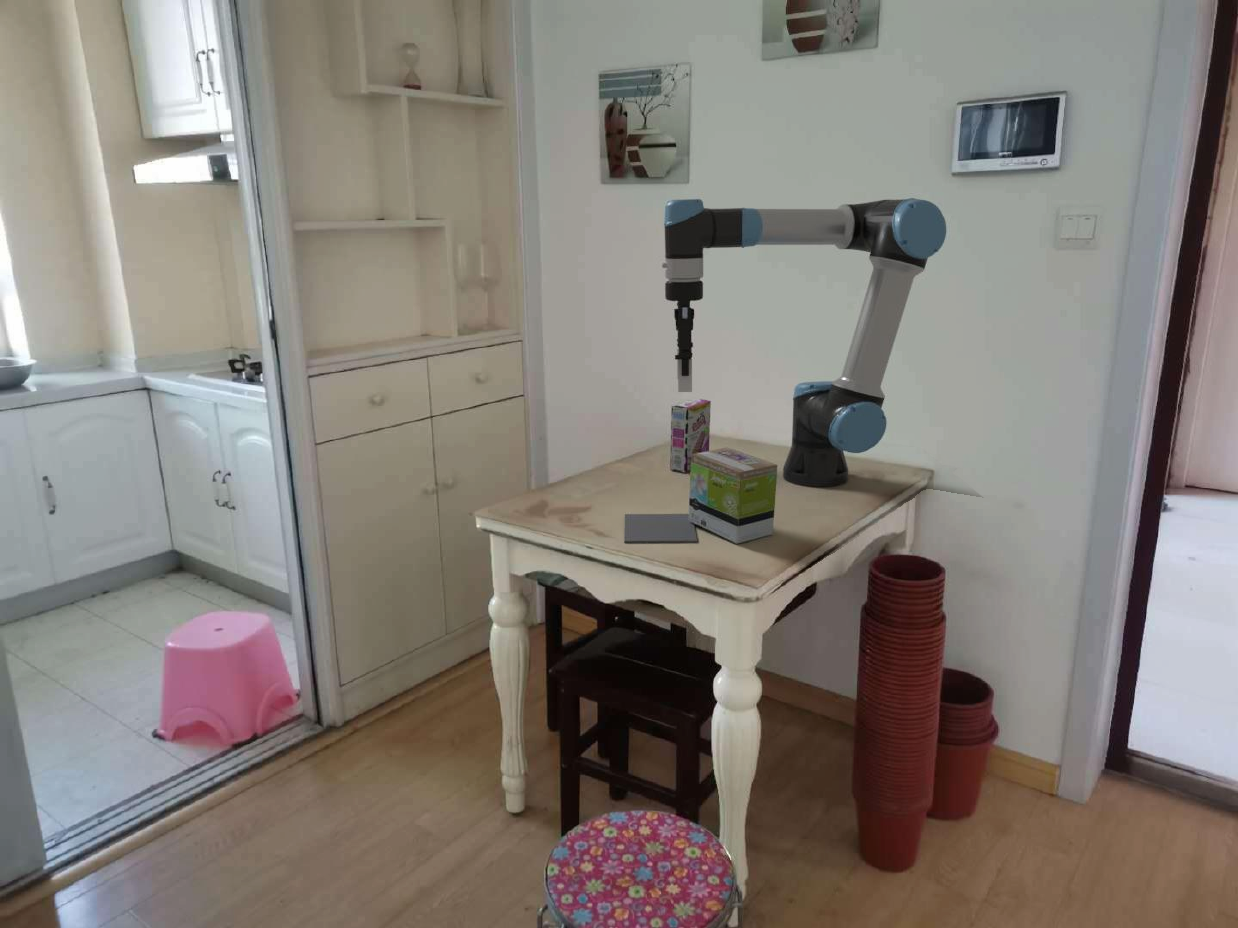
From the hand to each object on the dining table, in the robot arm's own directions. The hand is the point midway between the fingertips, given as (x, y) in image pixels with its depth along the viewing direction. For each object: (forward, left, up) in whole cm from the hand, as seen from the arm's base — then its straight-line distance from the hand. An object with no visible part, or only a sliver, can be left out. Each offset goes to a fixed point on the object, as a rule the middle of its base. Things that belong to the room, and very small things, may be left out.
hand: (684, 385), depth 187 cm
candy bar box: (-4, -33, -27) cm, 43 cm away
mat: (+5, +12, -27) cm, 30 cm away
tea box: (-9, +13, -27) cm, 31 cm away
